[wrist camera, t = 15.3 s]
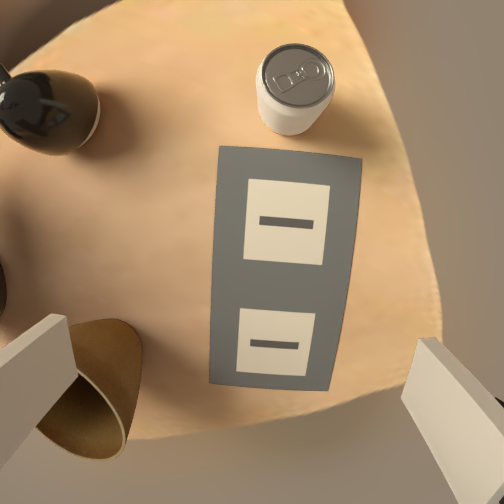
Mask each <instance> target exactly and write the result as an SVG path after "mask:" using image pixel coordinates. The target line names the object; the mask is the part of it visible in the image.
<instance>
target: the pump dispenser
mask: <svg viewBox="0 0 504 504" xmlns="http://www.w3.org/2000/svg"><path fill="white" fill-rule="evenodd" d="M0 84H1V86H0V129H1V130H2V131H3V132H4V133H5V134H6V135H7V136H8V137H10V138H11V139H13V140H14V141H16V142H17V143H19V144H21V145H22V146H24V147H26V148H28V149H30V150H33V151H35V152H38V153H41V154H45V155H49V156H63V155H66V154H69V153H71V152H73V151H74V150H75V149H77V148H79V147H80V146H82V145H83V144H84V143H85V142H86V141H87V140H88V139H89V138H90V137H91V136H92V134H93V133H94V131H95V129H96V127H97V125H98V122H99V118H100V101H99V98H98V95H97V93H96V90H95V88H94V86H93V85H92V83H91V82H90V81H89V80H88V79H86V78H84V77H83V76H80V75H78V74H75V73H71V72H66V71H60V70H35V71H29V72H24V73H21V74H18V75H16V76H14V77H11V75H10V74H9V73H8V72H7V70H6V69H5V68H4V67H3V65H2V64H0Z"/></svg>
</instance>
